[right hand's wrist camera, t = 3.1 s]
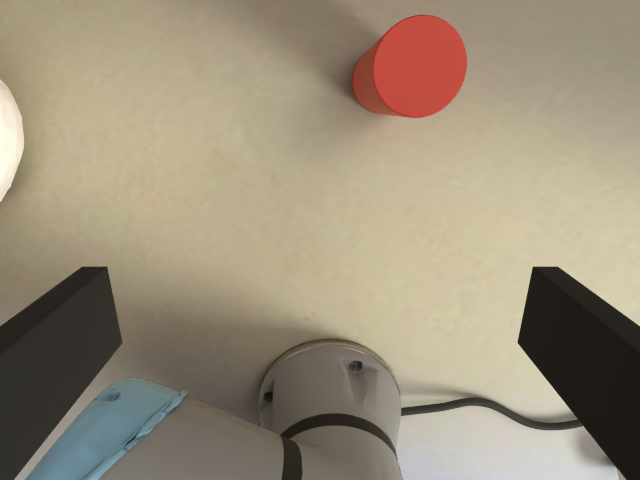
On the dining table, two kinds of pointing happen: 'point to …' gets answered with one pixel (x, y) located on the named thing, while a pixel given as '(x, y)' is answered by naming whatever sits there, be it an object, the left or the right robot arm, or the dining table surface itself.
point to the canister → (411, 69)
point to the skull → (9, 138)
